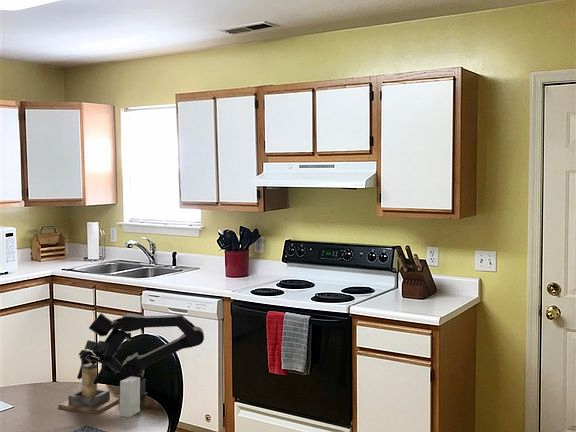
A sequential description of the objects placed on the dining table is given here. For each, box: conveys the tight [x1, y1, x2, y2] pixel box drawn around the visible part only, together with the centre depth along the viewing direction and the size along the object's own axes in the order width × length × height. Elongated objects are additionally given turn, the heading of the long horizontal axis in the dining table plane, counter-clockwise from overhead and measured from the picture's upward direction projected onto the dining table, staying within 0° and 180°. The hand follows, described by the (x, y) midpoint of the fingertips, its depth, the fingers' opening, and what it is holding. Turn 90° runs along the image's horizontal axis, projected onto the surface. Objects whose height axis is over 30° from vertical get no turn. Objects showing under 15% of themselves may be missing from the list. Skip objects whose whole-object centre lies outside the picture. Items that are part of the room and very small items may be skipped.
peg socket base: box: [58, 388, 120, 415], centre depth 229 cm, size 16×13×4 cm
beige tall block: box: [81, 363, 98, 398], centre depth 229 cm, size 4×4×13 cm
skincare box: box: [119, 376, 141, 418], centre depth 221 cm, size 6×4×12 cm
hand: (86, 381), depth 228 cm, fingers open, 9 cm apart
